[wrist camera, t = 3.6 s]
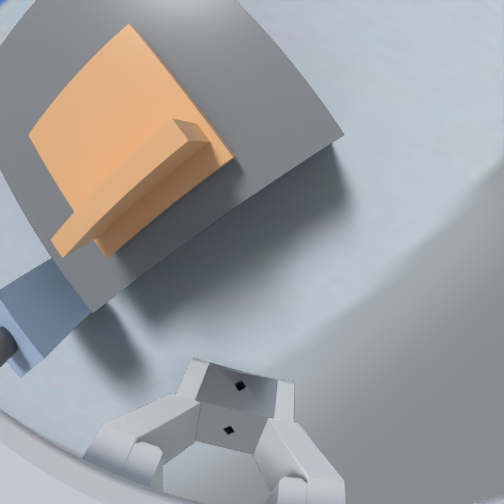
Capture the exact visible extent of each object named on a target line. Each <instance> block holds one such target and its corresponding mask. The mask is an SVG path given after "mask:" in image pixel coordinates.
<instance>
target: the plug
mask: <svg viewBox="0 0 504 504" xmlns="http://www.w3.org/2000/svg"><path fill="white" fill-rule="evenodd" d="M90 313H91V310H90V309H89V308H88V307H87V305H86V304H85V303H84V301H83V300H82V299H81V298H80V296H79V295H78V294H77V292H76V291H75V290H74V288H73V287H72V286H71V284H70V283H69V281H68V280H67V279H66V277H65V276H64V275H63V273H62V272H61V270H60V269H59V267H58V266H57V265H56V263H55V262H54V260H53V259H52V258H51V259H49V260H48V261H46V262H44V263H43V264H41V265H39V266H38V267H36V268H34V269H33V270H31V271H29V272H28V273H26V274H24V275H23V276H21V277H20V278H18V279H16V280H15V281H13V282H12V283H10V284H9V285H7V286H5V287H4V288H2V289H1V290H0V367H1V366H2V365H3V364H4V363H5V362H6V361H7V362H8V364H9V365H10V366H11V367H12V369H13V370H14V371H15V372H16V373H17V375H18V376H19V377H20V378H21V377H22V376H24V375H25V374H26V373H27V372H29V371H30V370H31V369H32V368H33V367H35V366H36V365H37V364H38V363H39V362H41V361H42V360H43V359H44V358H45V357H46V356H47V355H48V354H49V353H50V352H51V351H52V350H53V349H54V348H55V347H56V346H57V345H58V344H59V343H60V342H61V341H62V340H63V339H64V338H65V337H66V336H67V335H68V334H69V333H70V332H71V331H72V330H73V329H74V328H75V327H76V326H77V325H78V324H79V323H80V322H81V321H82V320H83V319H85V318H86V317H87V316H88V315H89V314H90Z"/></svg>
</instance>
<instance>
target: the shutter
mask: <svg viewBox="0 0 504 504" xmlns="http://www.w3.org/2000/svg"><path fill="white" fill-rule="evenodd" d="M29 137H30V139H31V140H32V142H33V144H34V146H35V148H36V150H37V151H38V153H39V155H40V157H41V158H42V160H43V162H44V164H45V165H46V167H47V169H48V170H49V172H50V174H51V176H52V177H53V179H54V180H55V182H56V184H57V185H58V187H59V189H60V190H61V192H62V193H63V195H64V197H65V198H66V200H67V201H68V203H69V204H70V206H71V207H72V209H73V211H74V213H73V214H72V215H71V216H70V217H69V219H68V220H67V221H66V222H65V223H64V224H63V226H62V227H61V228H60V229H59V230H58V231H57V233H56V234H55V235H54V236H53V238H52V239H51V241H52V243H53V245H54V246H55V248H56V249H57V251H58V252H59V253H60V255H61V256H62V258H64V257H66V256H67V255H69V254H71V253H72V252H74V251H76V250H77V249H79V248H81V247H83V246H84V245H86V244H88V243H90V242H91V241H93V240H94V241H95V243H96V244H97V246H98V247H99V248H100V250H101V251H102V252H103V254H104V255H105V257H106V258H109V257H110V256H111V255H113V254H114V253H115V252H116V251H118V250H119V249H120V248H121V247H122V246H123V245H125V244H126V243H127V242H128V241H129V240H130V239H131V238H133V237H134V236H135V235H136V234H137V233H139V232H140V231H141V230H142V229H143V228H145V227H146V226H147V225H148V224H149V223H151V222H152V221H153V220H154V219H155V218H157V217H158V216H159V215H160V214H162V213H163V212H164V211H165V210H166V209H168V208H169V207H170V206H171V205H173V204H174V203H175V202H176V201H178V200H179V199H180V198H182V197H183V196H184V195H185V194H187V193H188V192H189V191H191V190H192V189H193V188H194V187H196V186H197V185H198V184H200V183H201V182H202V181H204V180H205V179H206V178H208V177H209V176H210V175H212V174H213V173H214V172H216V171H217V170H218V169H220V168H221V167H222V166H224V165H225V164H227V163H228V162H229V161H231V160H232V159H233V158H235V157H236V156H235V155H234V154H233V152H232V151H231V150H230V148H229V147H228V146H227V144H226V143H225V141H224V140H223V139H222V137H221V136H220V135H219V133H218V132H217V131H216V129H215V128H214V127H213V125H212V124H211V123H210V121H209V120H208V119H207V117H206V116H205V115H204V113H203V112H202V111H201V109H200V108H199V107H198V106H197V104H196V103H195V102H194V100H193V99H192V98H191V96H190V95H189V94H188V93H187V91H186V90H185V89H184V87H183V86H182V85H181V84H180V82H179V81H178V80H177V78H176V77H175V76H174V75H173V73H172V72H171V71H170V70H169V68H168V67H167V66H166V65H165V63H164V62H163V61H162V60H161V58H160V57H159V56H158V55H157V53H156V52H155V51H154V50H153V48H152V47H151V46H150V45H149V43H148V42H147V41H146V40H145V39H144V37H143V36H142V35H141V34H140V32H139V31H138V30H137V29H136V28H135V27H134V26H132V25H131V24H128V25H127V26H126V27H124V28H123V29H122V30H121V31H120V32H119V33H118V34H117V35H115V36H114V37H113V38H112V39H111V40H110V41H109V42H108V43H107V44H106V45H105V46H104V47H103V48H102V49H101V50H100V51H99V52H98V53H97V54H96V55H95V56H94V57H93V58H92V59H91V60H90V61H89V62H88V63H87V64H86V65H85V66H84V67H83V68H82V69H81V70H80V71H79V72H78V73H77V75H76V76H75V77H74V78H73V79H72V80H71V81H70V82H69V83H68V85H67V86H66V87H65V88H64V89H63V90H62V92H61V93H60V94H59V95H58V96H57V98H56V99H55V100H54V101H53V103H52V104H51V105H50V106H49V108H48V109H47V110H46V111H45V113H44V114H43V115H42V117H41V118H40V119H39V121H38V122H37V123H36V125H35V126H34V128H33V129H32V130H31V132H30V133H29Z"/></svg>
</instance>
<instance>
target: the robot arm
mask: <svg viewBox="0 0 504 504" xmlns="http://www.w3.org/2000/svg"><path fill="white" fill-rule="evenodd" d="M294 411H295V383H294V381H289V380H283V379H276V378H271V377H267V376H262V375H257V374H252V373H248V372H244V371H240V370H236V369H232V368H228V367H225V366H221V365H218V364H214V363H209V362H206V361H203V360H199V359H196V358H193V359H192V360H191V362H190V364H189V366H188V368H187V370H186V372H185V375H184V377H183V379H182V381H181V383H180V385H179V388H178V390H177V392H176V394H172V393H169V394H167V395H165V396H163V397H161V398H159V399H157V400H155V401H153V402H151V403H149V404H147V405H145V406H143V407H140V408H138V409H136V410H134V411H132V412H130V413H127V414H125V415H123V416H121V417H118V418H116V419H114V420H112V421H109V422H107V423H105V424H103V425H102V427H101V429H100V430H99V432H98V433H97V435H96V437H95V438H94V440H93V441H92V443H91V445H90V446H89V448H88V449H87V451H86V453H85V454H84V456H83V458H80V457H78V456H76V455H74V454H72V453H70V452H68V451H66V450H64V449H63V448H61V447H59V446H57V445H55V444H54V443H52V442H50V441H49V440H47V439H45V438H44V437H42V436H40V435H39V434H37V433H35V432H34V431H32V430H31V429H29V428H28V427H26V426H25V425H23V424H22V423H20V422H19V421H17V420H16V419H14V418H13V417H11V416H10V415H8V414H7V413H6V412H4V411H3V410H2V409H0V504H203V503H199V502H196V501H192V500H188V499H184V498H181V497H178V496H175V495H171V494H168V493H165V492H163V465H164V464H165V463H167V462H168V461H170V460H171V459H173V458H174V457H175V456H177V455H178V454H180V453H181V452H182V451H184V450H185V449H186V448H188V447H189V446H191V445H192V444H193V443H194V442H195V441H199V442H203V443H207V444H211V445H215V446H220V447H224V446H225V448H228V449H232V450H236V451H241V452H245V453H249V454H253V457H254V459H255V461H256V464H257V466H258V467H259V470H260V472H261V474H262V476H263V478H264V480H265V482H266V484H267V486H268V488H269V490H270V492H271V494H270V495H269V497H268V498H267V500H266V501H265V503H264V504H345V487H344V480H343V479H342V478H341V477H340V475H339V474H338V473H337V472H336V470H335V469H334V468H333V467H332V465H331V464H330V463H329V461H327V459H326V458H325V456H324V455H323V454H322V453H321V451H320V450H319V449H318V447H317V446H316V445H315V443H314V442H313V441H312V440H311V438H310V437H309V436H308V434H307V433H306V432H305V430H304V429H303V428H302V426H301V425H300V424H299V423H294ZM473 504H504V494H503V495H500V496H497V497H494V498H491V499H487V500H484V501H481V502H477V503H473Z"/></svg>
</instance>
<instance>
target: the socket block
mask: <svg viewBox="0 0 504 504" xmlns="http://www.w3.org/2000/svg"><path fill="white" fill-rule="evenodd" d="M128 24H131V25H132V26H134V27H135V28H136V29H137V30H138V31H139V32H140V34H141V35H142V36H143V37H144V39H145V40H146V41H147V42H148V43H149V45H150V46H151V47H152V48H153V50H154V51H155V52H156V53H157V55H158V56H159V57H160V58H161V60H162V61H163V62H164V63H165V65H166V66H167V67H168V68H169V70H170V71H171V72H172V73H173V75H174V76H175V77H176V78H177V80H178V81H179V82H180V84H181V85H182V86H183V87H184V89H185V90H186V91H187V93H188V94H189V95H190V96H191V98H192V99H193V100H194V102H195V103H196V104H197V106H198V107H199V108H200V109H201V111H202V112H203V113H204V115H205V116H206V117H207V119H208V120H209V121H210V123H211V124H212V125H213V127H214V128H215V129H216V131H217V132H218V133H219V135H220V136H221V137H222V139H223V140H224V141H225V143H226V144H227V146H228V147H229V148H230V150H231V151H232V152H233V154H234V155H235V156H236V157H235V158H233V159H232V160H231V161H229V162H228V163H227V164H225V165H224V166H222V167H221V168H220V169H218V170H217V171H216V172H214V173H213V174H212V175H210V176H209V177H208V178H206V179H205V180H204V181H202V182H201V183H200V184H198V185H197V186H196V187H194V188H193V189H192V190H191V191H189V192H188V193H187V194H185V195H184V196H183V197H182V198H180V199H179V200H178V201H176V202H175V203H174V204H173V205H171V206H170V207H169V208H168V209H166V210H165V211H164V212H163V213H162V214H160V215H159V216H158V217H157V218H155V219H154V220H153V221H152V222H151V223H149V224H148V225H147V226H146V227H145V228H143V229H142V230H141V231H140V232H139V233H137V234H136V235H135V236H134V237H133V238H131V239H130V240H129V241H128V242H127V243H126V244H125V245H123V246H122V247H121V248H120V249H119V250H118V251H116V252H115V253H114V254H113V255H111V256H110V257H109V258H106V257H105V255H104V254H103V252H102V251H101V250H100V248H99V247H98V246H97V244H96V243H95V241H94V240H93V241H91V242H90V243H88V244H86V245H84V246H83V247H81V248H79V249H77V250H76V251H74V252H72V253H71V254H69V255H67V256H66V257H64V258H62V256H61V255H60V253H59V252H58V251H57V249H56V248H55V246H54V245H53V243H52V241H51V239H52V238H53V236H54V235H55V234H56V233H57V231H58V230H59V229H60V228H61V227H62V226H63V224H64V223H65V222H66V221H67V220H68V219H69V217H70V216H71V215H72V214H73V213H74V211H73V209H72V207H71V206H70V204H69V203H68V201H67V200H66V198H65V197H64V195H63V193H62V192H61V190H60V189H59V187H58V185H57V184H56V182H55V180H54V179H53V177H52V176H51V174H50V172H49V170H48V169H47V167H46V165H45V164H44V162H43V160H42V158H41V157H40V155H39V153H38V151H37V150H36V148H35V146H34V144H33V142H32V140H31V139H30V137H29V133H30V132H31V130H32V129H33V128H34V126H35V125H36V123H37V122H38V121H39V119H40V118H41V117H42V115H43V114H44V113H45V111H46V110H47V109H48V108H49V106H50V105H51V104H52V103H53V101H54V100H55V99H56V98H57V96H58V95H59V94H60V93H61V92H62V90H63V89H64V88H65V87H66V86H67V85H68V83H69V82H70V81H71V80H72V79H73V78H74V77H75V76H76V75H77V73H78V72H79V71H80V70H81V69H82V68H83V67H84V66H85V65H86V64H87V63H88V62H89V61H90V60H91V59H92V58H93V57H94V56H95V55H96V54H97V53H98V52H99V51H100V50H101V49H102V48H103V47H104V46H105V45H106V44H107V43H108V42H109V41H110V40H111V39H112V38H113V37H114V36H115V35H117V34H118V33H119V32H120V31H121V30H122V29H123V28H124V27H126V26H127V25H128ZM342 136H344V133H343V132H342V130H341V129H340V127H339V126H338V124H337V123H336V121H335V120H334V118H333V117H332V115H331V114H330V113H329V111H328V110H327V108H326V107H325V106H324V104H323V103H322V101H321V100H320V99H319V97H318V96H317V95H316V93H315V92H314V91H313V89H312V88H311V87H310V85H309V84H308V83H307V81H306V80H305V79H304V77H303V76H302V75H301V74H300V72H299V71H298V70H297V68H296V67H295V66H294V65H293V63H292V62H291V61H290V60H289V59H288V57H287V56H286V55H285V54H284V53H283V51H282V50H281V49H280V48H279V47H278V45H277V44H276V43H275V42H274V41H273V40H272V38H271V37H270V36H269V35H268V34H267V33H266V32H265V31H264V29H263V28H262V27H261V26H260V25H259V24H258V23H257V22H256V21H255V20H254V18H253V17H252V16H251V15H250V14H249V13H248V12H247V11H246V10H245V9H244V8H243V7H242V6H241V5H240V4H239V3H238V2H237V1H236V0H36V1H35V3H34V4H33V5H32V6H31V7H30V8H29V9H28V11H27V12H26V13H25V14H24V16H23V17H22V18H21V19H20V20H19V22H18V23H17V24H16V26H15V27H14V28H13V29H12V31H11V32H10V33H9V35H8V36H7V38H6V39H5V40H4V42H3V43H2V45H1V46H0V170H1V172H2V174H3V176H4V178H5V180H6V181H7V183H8V185H9V187H10V189H11V191H12V193H13V195H14V197H15V198H16V200H17V202H18V204H19V206H20V207H21V209H22V211H23V213H24V214H25V216H26V218H27V219H28V221H29V223H30V224H31V226H32V228H33V229H34V231H35V233H36V234H37V236H38V237H39V239H40V240H41V242H42V244H43V245H44V247H45V248H46V250H47V251H48V253H49V254H50V256H51V257H52V259H53V260H54V262H55V263H56V265H57V266H58V267H59V269H60V270H61V272H62V273H63V275H64V276H65V277H66V279H67V280H68V281H69V283H70V284H71V286H72V287H73V288H74V290H75V291H76V292H77V294H78V295H79V296H80V298H81V299H82V300H83V301H84V303H85V304H86V305H87V307H88V308H89V309H90V310H91V312H92V313H94V312H95V311H97V310H98V309H99V308H100V307H102V306H103V305H104V304H105V303H107V302H108V301H109V300H110V299H112V298H113V297H114V296H116V295H117V294H118V293H119V292H121V291H122V290H123V289H125V288H126V287H127V286H129V285H130V284H131V283H132V282H134V281H135V280H136V279H138V278H139V277H140V276H142V275H143V274H144V273H146V272H147V271H148V270H150V269H151V268H152V267H154V266H155V265H156V264H158V263H159V262H160V261H162V260H163V259H164V258H166V257H167V256H168V255H170V254H171V253H172V252H174V251H175V250H176V249H178V248H179V247H181V246H182V245H183V244H185V243H186V242H187V241H189V240H190V239H192V238H193V237H194V236H196V235H197V234H198V233H200V232H201V231H203V230H204V229H205V228H207V227H208V226H210V225H211V224H212V223H214V222H215V221H217V220H218V219H219V218H221V217H222V216H224V215H225V214H227V213H228V212H229V211H231V210H232V209H234V208H235V207H237V206H238V205H239V204H241V203H242V202H244V201H245V200H247V199H248V198H250V197H251V196H252V195H254V194H255V193H257V192H258V191H260V190H261V189H263V188H264V187H266V186H267V185H269V184H270V183H272V182H273V181H275V180H276V179H277V178H279V177H280V176H282V175H283V174H285V173H286V172H288V171H289V170H291V169H292V168H294V167H296V166H297V165H299V164H300V163H302V162H303V161H305V160H306V159H308V158H309V157H311V156H312V155H314V154H315V153H317V152H319V151H320V150H322V149H323V148H325V147H326V146H328V145H329V144H331V143H333V142H334V141H336V140H337V139H339V138H340V137H342Z"/></svg>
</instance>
